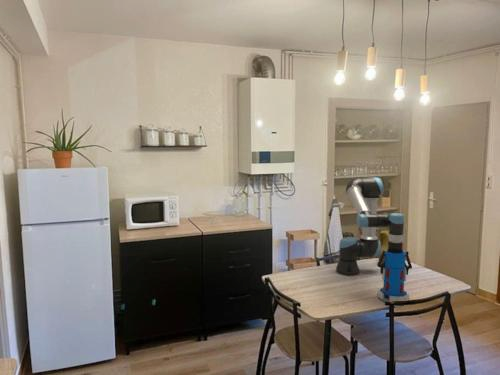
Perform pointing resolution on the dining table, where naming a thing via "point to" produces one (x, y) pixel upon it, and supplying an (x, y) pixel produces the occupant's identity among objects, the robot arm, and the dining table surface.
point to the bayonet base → (392, 298)
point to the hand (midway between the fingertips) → (393, 279)
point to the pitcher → (383, 242)
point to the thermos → (394, 274)
